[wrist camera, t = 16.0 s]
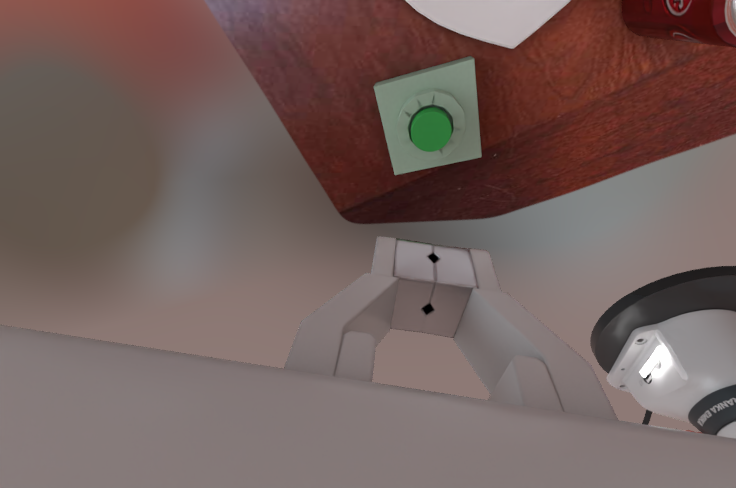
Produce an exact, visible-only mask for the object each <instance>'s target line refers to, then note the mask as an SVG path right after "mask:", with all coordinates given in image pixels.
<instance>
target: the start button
mask: <svg viewBox="0 0 736 488" xmlns="http://www.w3.org/2000/svg"><path fill="white" fill-rule="evenodd" d="M451 133H452V127H451V123H450V120H449V117H448V116H447V114H446V113H445V112H444V111H443V110H441V109H439V108H434V107H430V108H426V109H423V110H421V111H420V112H419V113H418V114H417V115H416V116H415V117H414V119H413V121H412V125H411V138H412V141H413V143H414V144H415V146H416V147H417V148H419V149H420V150H423V151H426V152H434V151H437V150H439V149H441V148H443V147H444V146H445V145H446V144H447V143H448V141H449V139H450V137H451Z"/></svg>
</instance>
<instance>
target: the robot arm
mask: <svg viewBox="0 0 736 488" xmlns="http://www.w3.org/2000/svg"><path fill="white" fill-rule="evenodd" d="M390 329H397V330H405V331H413V332H422V333H427V334H434V335H440V336H445V337H450V338H454V339H453V340H454V341H455V343H456V344H457V346H458V347H459V349H460V350H461V352H462V353H463V354H464V356H465V357H466V359H467V360H468V362H469V363H470V365H471V366H472V368H473V369H474V371H475V372H476V374H477V375H478V377H479V378H480V380H481V381H482V383H483V384H484V385H485V387H486V388H487V390H488V391H489V393H490V394H491V396H490V397H489V399H488V400H482V399H476V398H469V397H463V396H457V395H451V394H444V393H437V392H431V391H425V390H418V389H412V388H405V387H399V386H393V385H386V384H380V383H373V382H372V376H373V368H374V358H375V348H376V346H377V345H378V344H379V343H380V342H381V340H382V339H383V338H384V337H385V336H386V334H387V333H388V332H389V331H390ZM606 380H607V381H608V383H609V384H610V385H612V386H613V387H615V388H617V389H620V390H623V391H626V392H630V393H631V394H632V395H633V397H634V398H635V399H636V400H637V401H638V403H639V404H641V405H642V406H643V407H644V408H646V409H647V410H646V414H645V417H644V420H643V423H642V424H638V423H631V422H625V421H619V420H618V418H617V416H616V414H615V412H614V410H613V408H612V406H611V404H610V402H609V400H608V398H607V396H606V394H605V392H604V390H603V388H602V386H601V384H600V382H599V380H598V378H597V376H596V374H595V372H594V370H593V368H592V366H591V364H590V363H588V362H587V361H586V360H585V359H584V358H583V357H581V356H580V355H579V354H578V353H577V352H576V351H574V350H573V349H572V348H571V347H570V346H569V345H568V344H566V343H565V342H564V341H563V340H562V339H560V338H559V337H558V336H557V335H556V334H555V333H554V332H552V331H551V330H550V329H549V328H548V327H547V326H545V325H544V324H543V323H542V322H541V321H540V320H538V319H537V318H536V317H535V316H534V315H533V314H532V313H530V312H529V311H528V310H527V309H526V308H525V307H523V306H522V305H521V304H520V303H519V302H518V301H517V300H515V299H514V298H513V297H512V296H511V295H510V294H508V293H505V292H502V291H501V288H500V285H499V282H498V278H497V275H496V272H495V269H494V266H493V263H492V260H491V256H490V253H489V252H488V251H487V250H480V249H471V248H468V249H467V248H458V247H450V246H442V245H433V244H429V243H423V242H417V241H410V240H403V239H397V238H396V239H395V238H390V237H383V236H378V237H377V240H376V246H375V252H374V258H373V265H372V270H371V274H369V273H365V274H364V275H362V276H361V277H360V278H358V279H357V280H356V281H354V282H353V283H352V284H350V285H349V286H348V287H346V288H345V289H344V290H342V291H341V292H340V293H338V294H337V295H336V296H334V297H333V298H332V299H330V300H329V301H328V302H326V303H325V304H324V305H322V306H321V307H320V308H318V309H317V310H316V311H314V312H313V313H312V314H310V315H309V316H308V317H306V318H305V319H304V320H302V321H301V323H300V326H299V329H298V332H297V334H296V337H295V340H294V342H293V345H292V348H291V351H290V353H289V356H288V359H287V361H286V364H285V367H284V369H283V368H277V367H270V366H263V365H257V364H251V363H244V362H238V361H231V360H224V359H218V358H212V357H206V356H199V355H192V354H186V353H179V352H173V351H166V350H160V349H154V348H147V347H141V346H134V345H128V344H122V343H115V342H109V341H102V340H95V339H89V338H82V337H76V336H70V335H63V334H57V333H50V332H44V331H37V330H31V329H24V328H18V327H12V326H5V325H0V488H736V312H735V311H730V310H721V309H711V310H700V311H694V312H689V313H685V314H682V315H679V316H676V317H673V318H670V319H668V320H666V321H663V322H661V323H658V324H653V325H648V326H643V327H639V328H637V329H635V330H633V331H632V333H631V334H630V336H629V338H628V340H627V342H626V343H625V345H624V347H623V349H622V351H621V352H620V354H619V356H618V358H617V360H616V361H615V363H614V365H613V367H612V369H611V370H610V372H609V374H608V376H607V378H606ZM652 412H654V413H657V414H660V415H664V416H668V417H671V418H674V419H678V420H682V421H685V422H689V423H691V424H693V425H694V426H695V427H696V428H697V429H698V430H699V431H701V432H702V433H701V432H694V431H690V430H686V431H682V430H677V429H670V428H664V427H657V426H651V425H648V423H649V421H650V417H651V414H652Z"/></svg>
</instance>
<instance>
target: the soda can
mask: <svg viewBox="0 0 736 488" xmlns="http://www.w3.org/2000/svg"><path fill="white" fill-rule="evenodd" d="M622 16H623V20H624V22H625V24H626V26H627V27H628V28H629V29H630V30H631V31H632V32H633V33H635V34H637V35H639V36H644V37H650V38H659V39H667V40H676V41H684V42H693V43H701V44H709V45H718V46H726V47H735V48H736V0H622Z"/></svg>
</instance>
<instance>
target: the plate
mask: <svg viewBox="0 0 736 488" xmlns="http://www.w3.org/2000/svg"><path fill="white" fill-rule="evenodd" d="M405 1H406V2H407V3H409V4H410V5H411V6H412V7H413V8H414V9H415V10H416V11H418V12H419V13H421V14H422V15H424V16H425V17H427V18H429V19H430V20H432V21H433V22H435V23H436V24H438V25H441V26H443V27H445V28H448V29H450V30H452V31H455V32H457V33H459V34H462V35H465V36H468V37H472V38H475V39H478V40H481V41H485V42H488V43H492V44H496V45H499V46H503V47H507V48H511V49H514V48H515V47H516V46H517V45H519V44H520V43H521V42H522V41H524V40H525V39H526V38H528V37H529V36H530V35H531V34H533V33H534V32H535V31H536V30H538V29H539V28H540V27H541V26H542V25H543V24H545V23H546V22H547V21H548V20H549V19H550V18H552V17H553V16H554V15H555V14H556V13H557V12H559V11H560V10H561V9H562V8H563V7H564V6H566V5H567V4H568V3H569V2H570V1H571V0H405Z"/></svg>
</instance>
